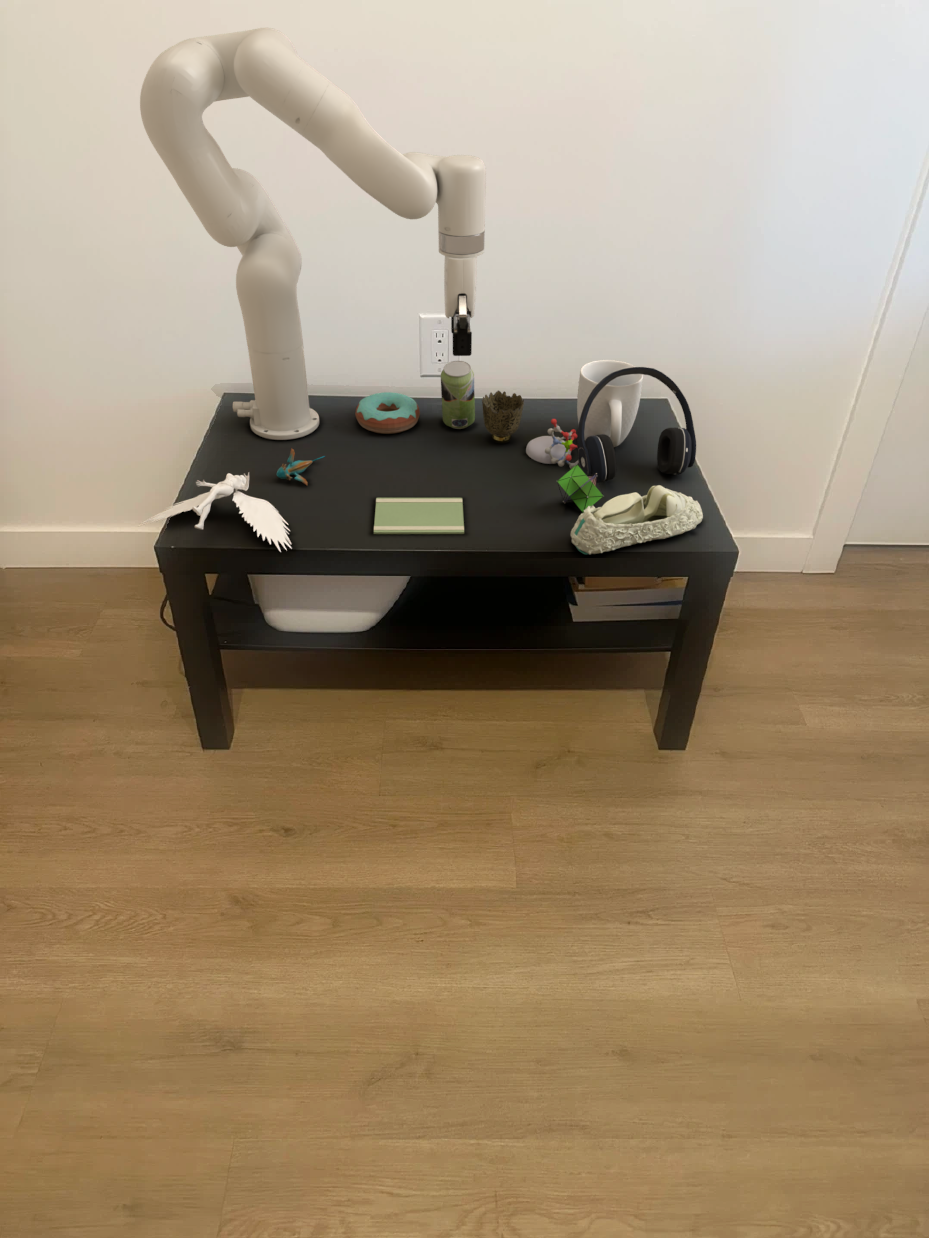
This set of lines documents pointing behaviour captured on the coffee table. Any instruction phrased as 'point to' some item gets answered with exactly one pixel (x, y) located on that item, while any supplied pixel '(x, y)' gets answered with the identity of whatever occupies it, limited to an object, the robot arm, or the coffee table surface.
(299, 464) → the dragon figurine
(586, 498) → the green polyhedron model
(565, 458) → the molecular model
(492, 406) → the cup
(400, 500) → the towel mat
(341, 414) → the coffee table surface
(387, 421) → the donut
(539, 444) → the white pebble
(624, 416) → the mug
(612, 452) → the earphone
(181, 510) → the figurine
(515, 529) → the coffee table surface
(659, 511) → the ballet flat
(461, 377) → the beverage can
